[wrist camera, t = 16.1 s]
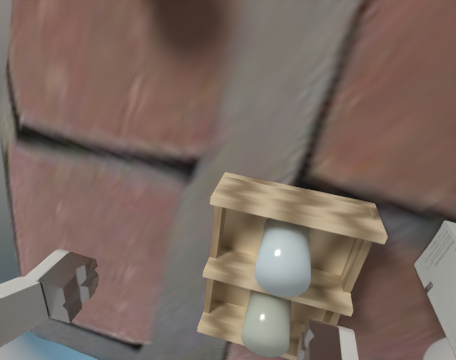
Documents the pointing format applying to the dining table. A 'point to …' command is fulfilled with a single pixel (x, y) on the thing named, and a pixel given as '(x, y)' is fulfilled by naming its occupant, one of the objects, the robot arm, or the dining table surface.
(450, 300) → the skincare box
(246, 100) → the dining table surface
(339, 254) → the rack
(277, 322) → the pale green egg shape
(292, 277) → the pale blue-grey rounded dome
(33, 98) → the dining table surface
